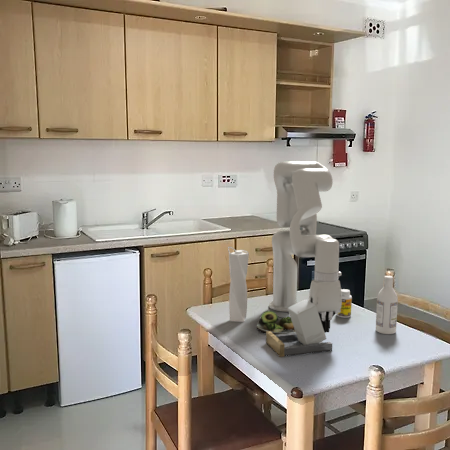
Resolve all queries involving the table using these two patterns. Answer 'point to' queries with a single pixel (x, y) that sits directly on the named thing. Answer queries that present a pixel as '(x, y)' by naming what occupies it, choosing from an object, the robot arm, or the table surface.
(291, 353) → the channel bracket
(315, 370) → the table surface
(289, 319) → the salad plate
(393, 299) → the bath foam
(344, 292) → the supplement bottle
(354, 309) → the table surface
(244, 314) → the skyscraper
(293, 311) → the supplement box
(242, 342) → the table surface
